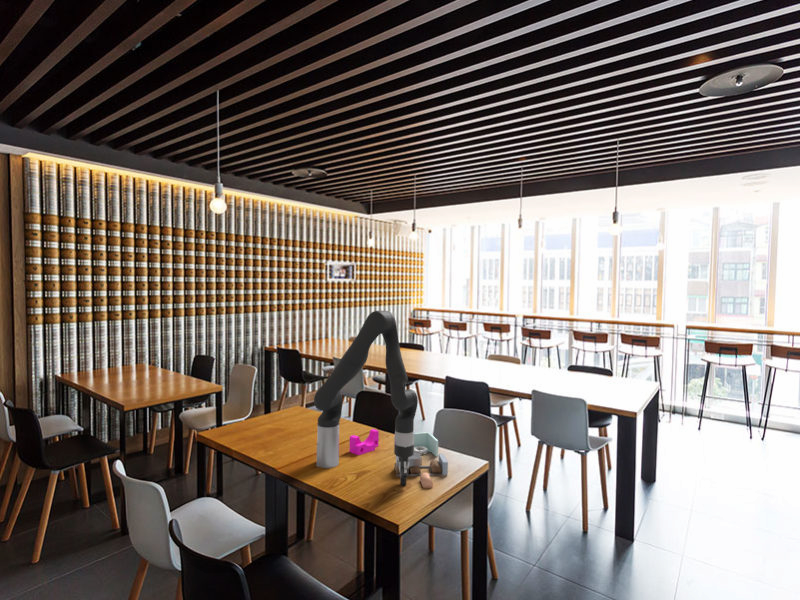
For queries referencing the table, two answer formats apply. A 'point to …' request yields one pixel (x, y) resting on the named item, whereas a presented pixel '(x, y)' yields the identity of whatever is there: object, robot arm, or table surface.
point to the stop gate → (443, 464)
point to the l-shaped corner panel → (425, 443)
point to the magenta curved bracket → (364, 443)
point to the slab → (412, 460)
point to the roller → (426, 480)
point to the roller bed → (416, 471)
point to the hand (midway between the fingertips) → (403, 486)
